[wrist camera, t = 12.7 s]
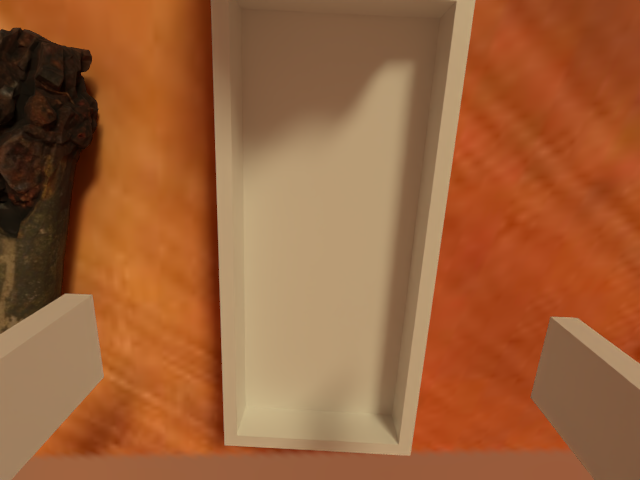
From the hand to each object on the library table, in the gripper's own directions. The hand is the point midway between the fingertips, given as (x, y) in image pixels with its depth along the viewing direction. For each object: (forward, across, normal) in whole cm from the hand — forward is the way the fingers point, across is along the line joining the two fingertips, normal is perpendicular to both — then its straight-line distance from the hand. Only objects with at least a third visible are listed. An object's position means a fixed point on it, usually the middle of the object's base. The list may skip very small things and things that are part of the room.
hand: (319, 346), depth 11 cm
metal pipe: (+15, -18, -4) cm, 24 cm away
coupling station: (+12, 0, 0) cm, 13 cm away
